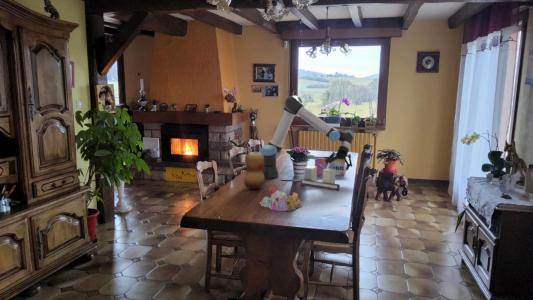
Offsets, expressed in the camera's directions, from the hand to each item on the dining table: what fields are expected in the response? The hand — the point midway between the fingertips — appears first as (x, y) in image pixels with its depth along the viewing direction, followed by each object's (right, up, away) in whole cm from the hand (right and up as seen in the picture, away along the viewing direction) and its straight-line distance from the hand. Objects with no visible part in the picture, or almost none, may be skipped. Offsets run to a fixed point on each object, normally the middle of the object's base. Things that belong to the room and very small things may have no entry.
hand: (335, 172), depth 268 cm
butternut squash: (-57, -11, -16) cm, 60 cm away
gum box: (+1, -4, +29) cm, 30 cm away
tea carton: (-6, -10, -7) cm, 14 cm away
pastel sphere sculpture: (-41, -17, -49) cm, 66 cm away
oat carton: (-18, -8, 0) cm, 20 cm away
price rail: (-13, -10, -10) cm, 19 cm away
